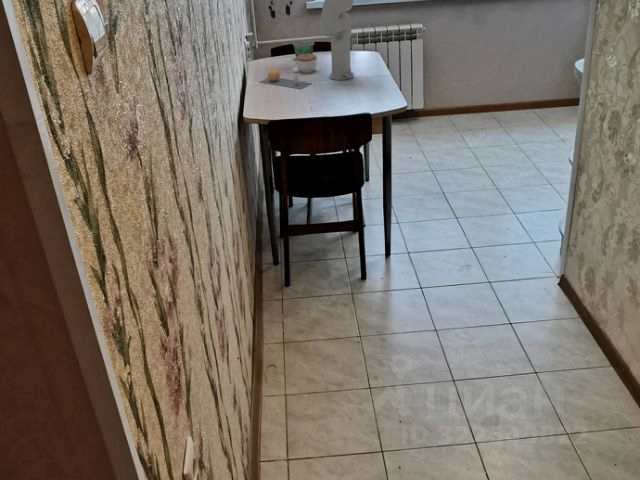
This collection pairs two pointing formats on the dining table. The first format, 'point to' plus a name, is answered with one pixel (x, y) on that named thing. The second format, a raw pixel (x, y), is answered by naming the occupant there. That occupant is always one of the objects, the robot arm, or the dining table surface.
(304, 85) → the grey flat board
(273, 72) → the ball
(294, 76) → the pin
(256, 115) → the dining table surface
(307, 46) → the food container
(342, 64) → the robot arm
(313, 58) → the lidded jar
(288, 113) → the dining table surface
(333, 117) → the dining table surface
